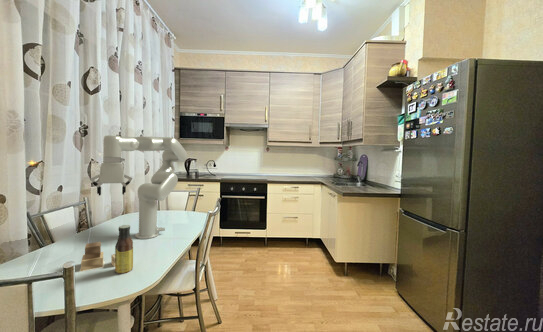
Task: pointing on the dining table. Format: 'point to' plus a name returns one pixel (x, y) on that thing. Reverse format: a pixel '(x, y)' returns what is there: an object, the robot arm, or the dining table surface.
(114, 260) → the maple block
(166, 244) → the dining table surface
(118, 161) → the robot arm
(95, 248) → the walnut cube
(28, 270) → the dining table surface
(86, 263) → the oak plinth
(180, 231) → the dining table surface
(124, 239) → the sauce bottle
